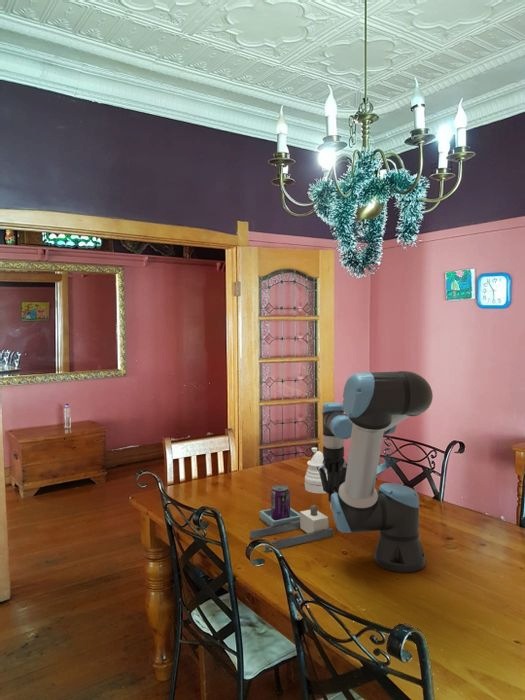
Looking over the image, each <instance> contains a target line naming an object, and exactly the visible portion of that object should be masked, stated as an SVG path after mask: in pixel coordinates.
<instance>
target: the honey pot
mask: <svg viewBox="0 0 525 700" xmlns="http://www.w3.org/2000/svg"><path fill="white" fill-rule="evenodd" d="M311 451H312V452H313V453H314V454H313V455H312V457H311V459H310V460H307V462H306V464H307V469H306V472H305V475H304V490H305V491H306V492H309V493H313V494H328V493H327V492H325V491H324V490H323V486H322V482H321V478H320V473H319V471H318V470H317V467H318V466H319V467H320V466H321V465H322V464H323V460H324V458H323V451H320V450H318V447H311ZM325 473H326V477H327V470H326V468H325ZM327 481H328V479H327Z"/></svg>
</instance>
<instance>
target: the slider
mask: <svg viewBox="0 0 525 700" xmlns="http://www.w3.org/2000/svg"><path fill="white" fill-rule="evenodd" d="M309 507H310V509H306V510H301V511H299V514H300V529H301V530H302V531H304V532H305V534H307V533H311V532H316V531H320V530H325V529H329V516H327V515H325V514H324V513H322V512H320V511H319V510H318V505H316V504H311V505H310V506H309Z"/></svg>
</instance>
